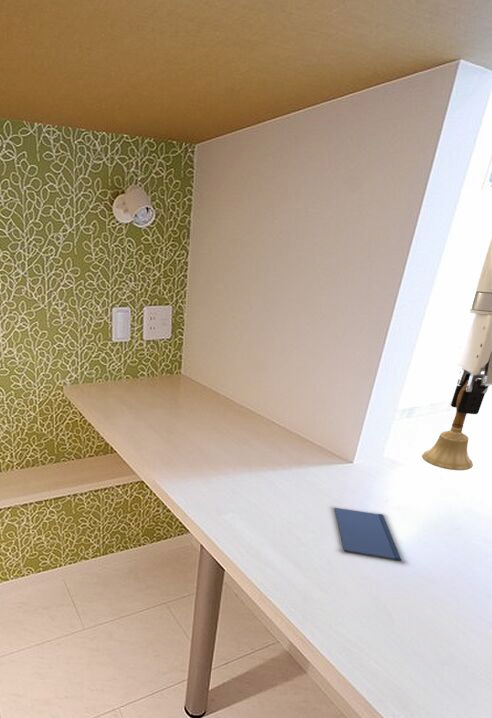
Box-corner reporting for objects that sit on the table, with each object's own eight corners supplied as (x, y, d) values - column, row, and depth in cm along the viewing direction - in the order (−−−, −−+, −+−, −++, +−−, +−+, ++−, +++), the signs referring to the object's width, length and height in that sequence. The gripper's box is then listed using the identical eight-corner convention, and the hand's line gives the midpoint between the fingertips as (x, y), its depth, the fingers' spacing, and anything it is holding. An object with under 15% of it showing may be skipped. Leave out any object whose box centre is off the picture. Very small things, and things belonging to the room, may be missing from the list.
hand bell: (419, 463, 83) (443, 382, 76) (424, 448, 89) (447, 372, 82) (471, 475, 79) (502, 390, 72) (473, 458, 85) (502, 379, 78)
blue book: (382, 516, 96) (383, 514, 96) (400, 560, 82) (401, 558, 82) (334, 508, 98) (335, 507, 98) (344, 551, 84) (344, 549, 84)
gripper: (551, 310, 64) (506, 427, 72) (504, 300, 78) (471, 399, 86) (492, 308, 66) (454, 422, 74) (456, 299, 80) (428, 396, 88)
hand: (463, 409), depth 80 cm, fingers closed on hand bell, 2 cm apart
